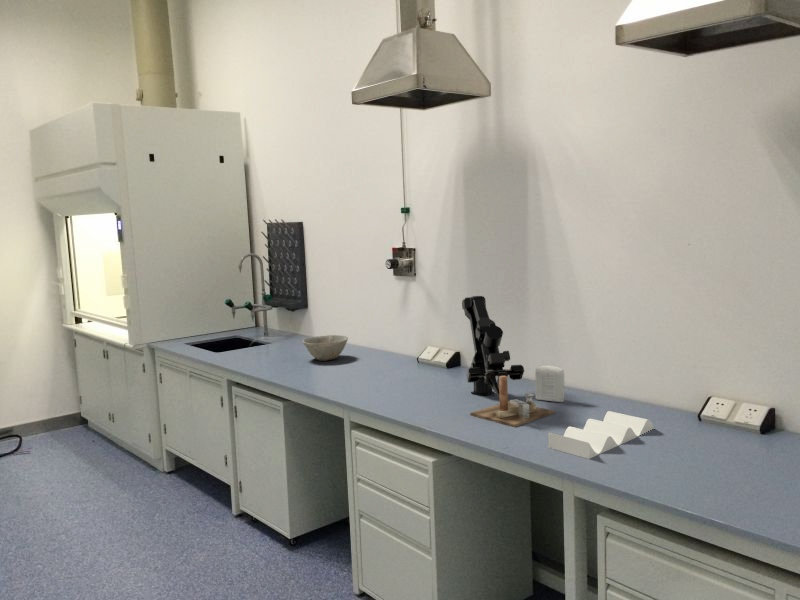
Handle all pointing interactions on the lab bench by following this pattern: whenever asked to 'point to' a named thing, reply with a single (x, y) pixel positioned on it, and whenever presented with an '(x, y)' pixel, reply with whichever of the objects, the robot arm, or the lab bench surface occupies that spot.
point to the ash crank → (504, 408)
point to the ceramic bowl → (325, 346)
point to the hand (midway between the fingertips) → (499, 395)
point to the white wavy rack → (600, 435)
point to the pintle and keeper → (523, 405)
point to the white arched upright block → (549, 383)
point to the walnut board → (510, 420)
